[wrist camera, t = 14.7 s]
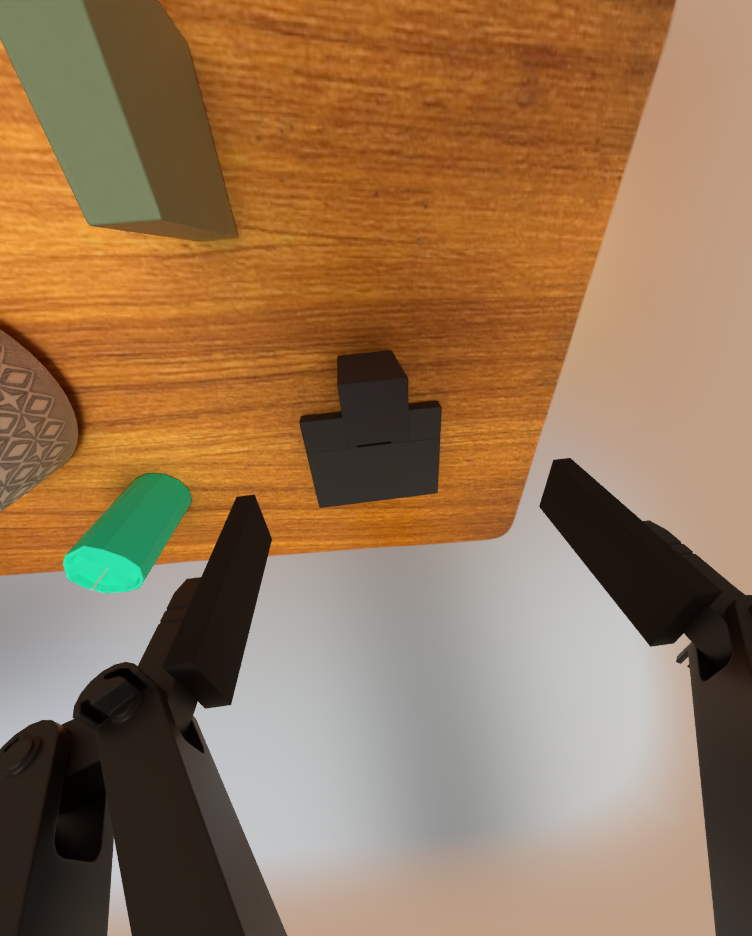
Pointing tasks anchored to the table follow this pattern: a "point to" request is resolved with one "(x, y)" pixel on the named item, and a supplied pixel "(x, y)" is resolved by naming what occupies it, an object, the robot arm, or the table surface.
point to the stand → (121, 113)
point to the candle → (128, 535)
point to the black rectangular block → (373, 398)
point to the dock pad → (373, 459)
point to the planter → (30, 422)
